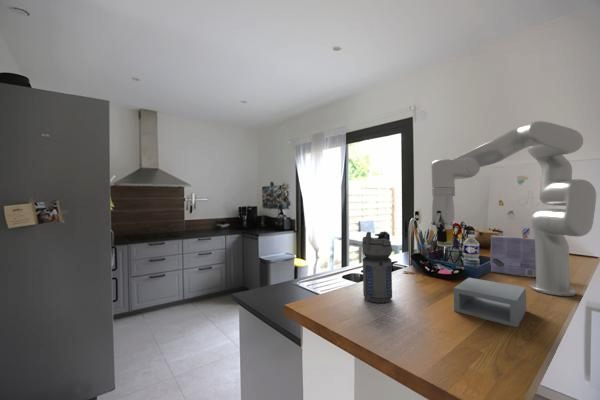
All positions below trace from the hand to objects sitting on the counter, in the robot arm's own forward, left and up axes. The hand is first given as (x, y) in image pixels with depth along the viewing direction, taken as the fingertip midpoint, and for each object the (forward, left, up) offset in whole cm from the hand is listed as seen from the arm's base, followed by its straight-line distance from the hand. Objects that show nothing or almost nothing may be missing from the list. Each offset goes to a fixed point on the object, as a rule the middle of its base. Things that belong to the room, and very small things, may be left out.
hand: (445, 240), depth 100 cm
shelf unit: (+5, +15, -21) cm, 26 cm away
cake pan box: (-52, +13, -21) cm, 57 cm away
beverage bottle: (+20, -16, -21) cm, 33 cm away
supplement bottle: (0, 0, -2) cm, 2 cm away
